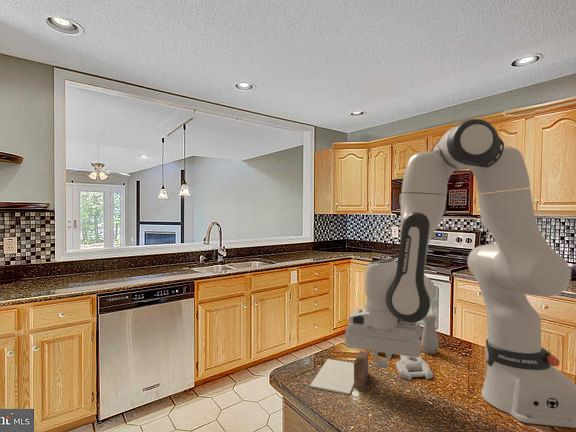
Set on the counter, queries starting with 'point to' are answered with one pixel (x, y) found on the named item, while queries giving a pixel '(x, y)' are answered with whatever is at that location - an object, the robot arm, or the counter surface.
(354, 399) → the counter surface
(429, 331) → the salt shaker
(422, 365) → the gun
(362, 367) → the block
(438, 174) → the robot arm
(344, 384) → the mat
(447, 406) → the counter surface
